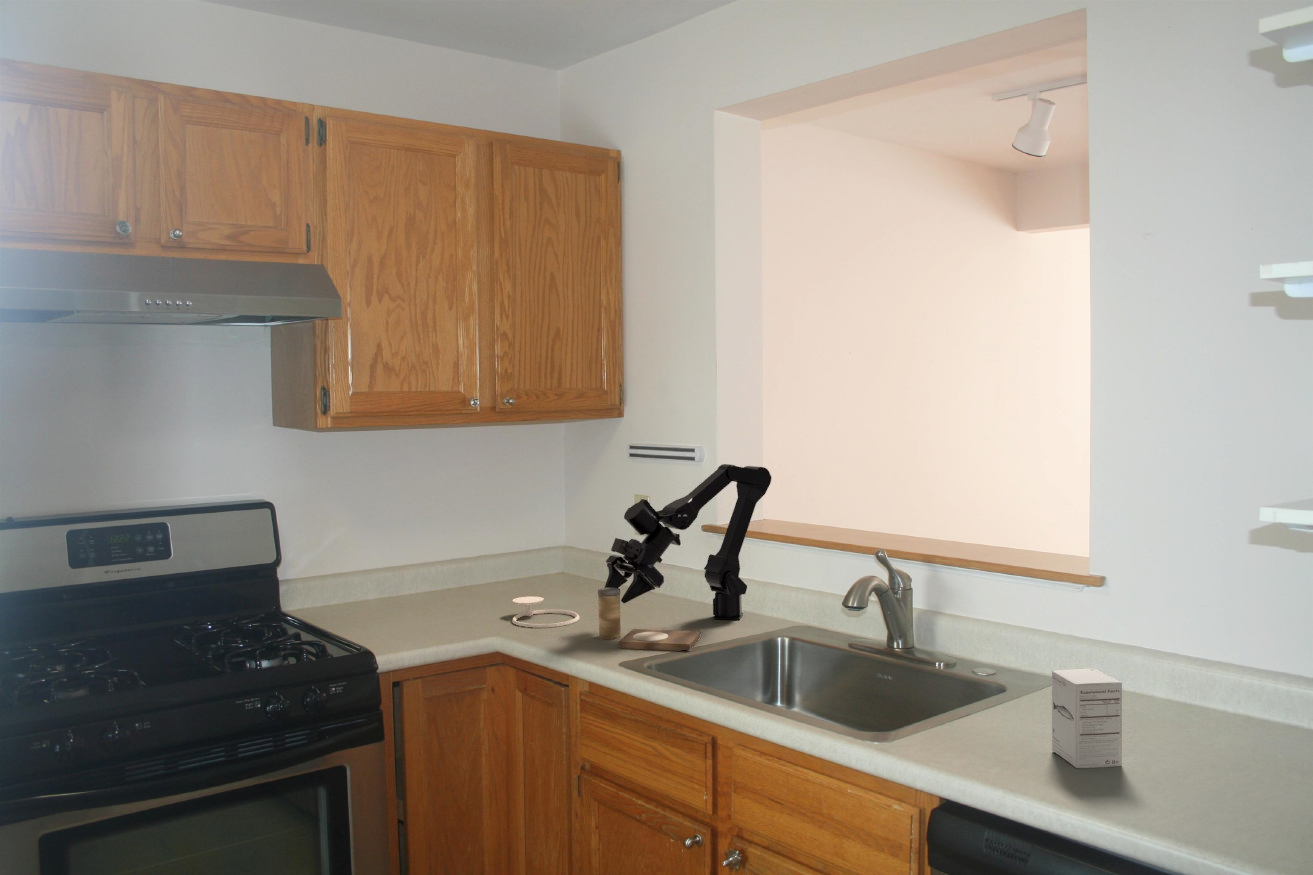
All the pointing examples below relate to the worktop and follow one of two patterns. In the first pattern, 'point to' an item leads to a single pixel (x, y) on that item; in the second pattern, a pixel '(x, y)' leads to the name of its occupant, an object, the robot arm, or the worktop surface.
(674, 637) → the walnut board
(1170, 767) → the worktop surface
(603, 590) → the tan jar with lid
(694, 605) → the worktop surface
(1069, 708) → the supplement box
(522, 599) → the hand towel holder
